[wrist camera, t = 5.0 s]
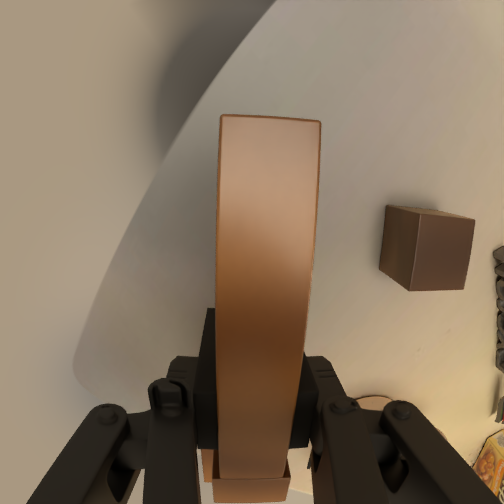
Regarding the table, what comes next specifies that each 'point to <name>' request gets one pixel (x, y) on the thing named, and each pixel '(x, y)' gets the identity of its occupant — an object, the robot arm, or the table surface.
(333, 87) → the table surface
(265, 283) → the wooden zigzag step
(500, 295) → the extruded letter logo
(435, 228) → the block
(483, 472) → the candy box
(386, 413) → the robot arm
